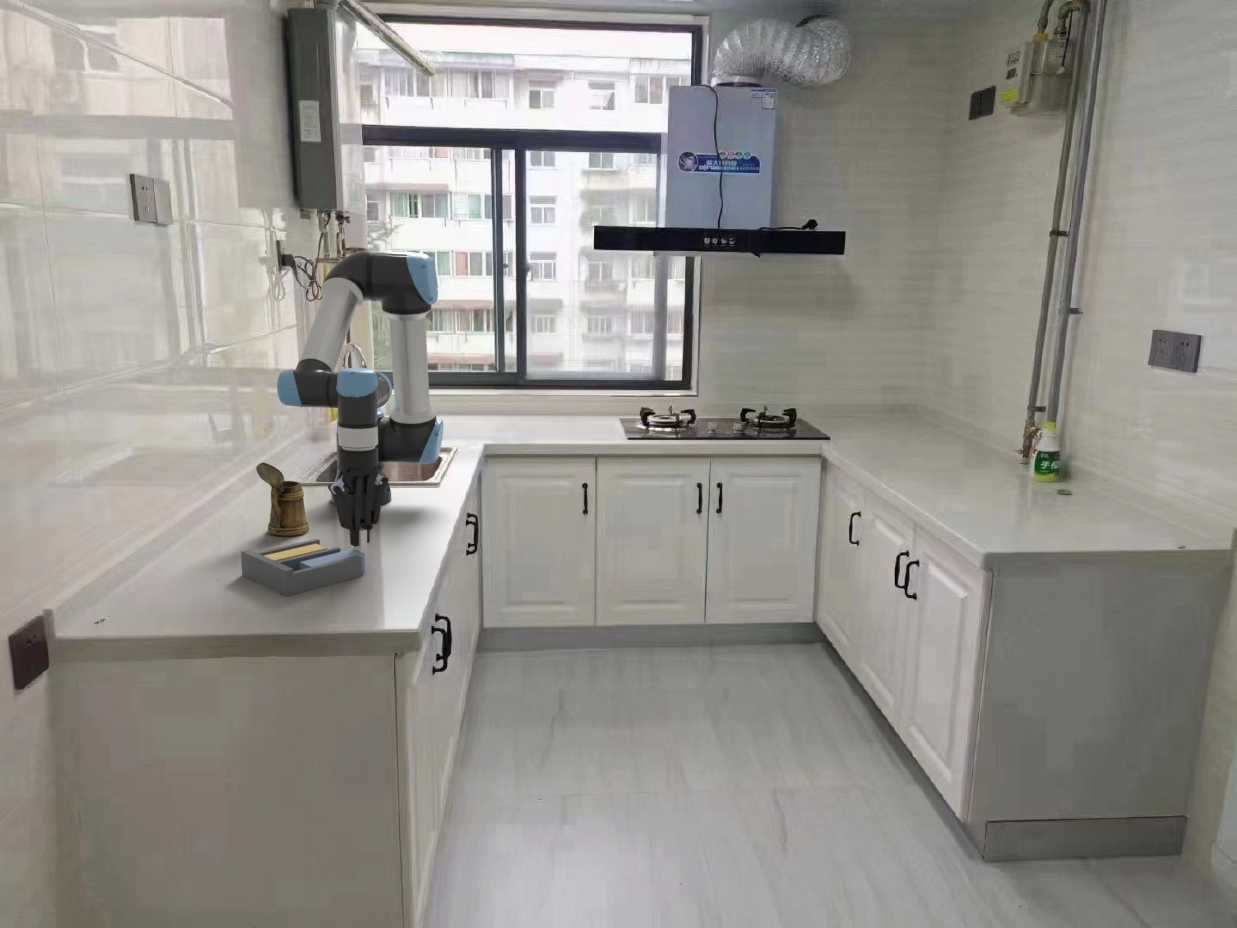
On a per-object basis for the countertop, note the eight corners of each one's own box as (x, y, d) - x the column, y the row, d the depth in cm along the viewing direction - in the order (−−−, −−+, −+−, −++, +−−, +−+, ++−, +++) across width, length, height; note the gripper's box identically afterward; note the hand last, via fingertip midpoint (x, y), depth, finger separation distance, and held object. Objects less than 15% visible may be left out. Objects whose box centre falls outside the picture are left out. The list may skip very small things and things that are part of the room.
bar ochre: (316, 561, 188) (316, 543, 187) (327, 566, 185) (327, 548, 184) (262, 575, 179) (261, 556, 178) (273, 580, 176) (272, 560, 175)
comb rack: (316, 556, 190) (316, 534, 189) (362, 575, 180) (361, 551, 179) (242, 575, 177) (240, 550, 176) (286, 596, 168) (285, 570, 166)
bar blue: (353, 567, 185) (352, 548, 184) (364, 572, 183) (364, 553, 182) (300, 581, 176) (300, 561, 175) (312, 586, 173) (311, 566, 172)
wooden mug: (247, 540, 199) (243, 460, 195) (282, 524, 212) (279, 449, 208) (283, 544, 197) (280, 464, 193) (316, 528, 210) (314, 452, 206)
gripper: (374, 439, 186) (375, 548, 191) (318, 447, 176) (321, 562, 182) (396, 445, 182) (397, 557, 187) (341, 454, 172) (343, 571, 177)
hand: (360, 559), depth 184 cm, fingers closed
